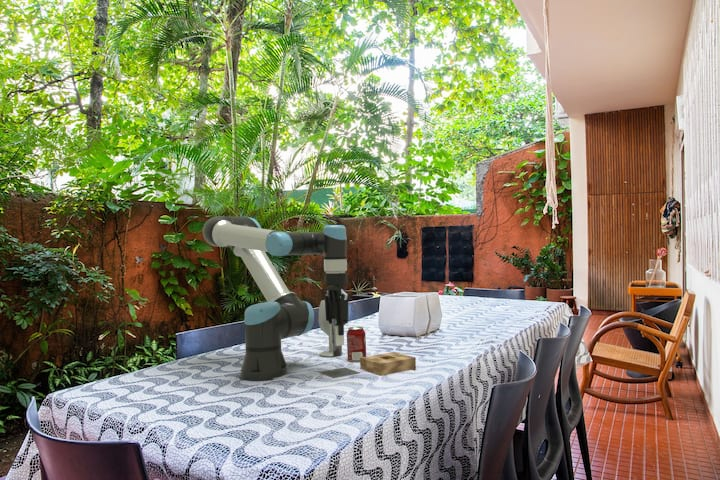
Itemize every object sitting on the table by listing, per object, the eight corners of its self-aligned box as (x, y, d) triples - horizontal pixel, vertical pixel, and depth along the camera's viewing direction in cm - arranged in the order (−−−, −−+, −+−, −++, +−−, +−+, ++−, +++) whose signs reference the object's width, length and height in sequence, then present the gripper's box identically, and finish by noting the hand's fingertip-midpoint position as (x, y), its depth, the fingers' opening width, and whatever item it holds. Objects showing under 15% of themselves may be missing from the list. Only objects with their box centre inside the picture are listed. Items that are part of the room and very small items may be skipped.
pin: (335, 356, 162) (334, 319, 162) (331, 355, 165) (330, 318, 165) (343, 355, 164) (342, 318, 164) (339, 353, 166) (338, 317, 166)
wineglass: (332, 358, 188) (330, 302, 188) (315, 356, 193) (313, 301, 193) (346, 353, 195) (344, 299, 195) (329, 351, 200) (327, 299, 200)
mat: (333, 379, 157) (333, 378, 157) (318, 373, 165) (318, 372, 165) (360, 374, 162) (360, 372, 162) (345, 368, 171) (345, 367, 171)
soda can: (364, 363, 177) (363, 329, 178) (345, 363, 179) (344, 329, 179) (368, 359, 184) (366, 326, 184) (350, 359, 185) (348, 326, 185)
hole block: (380, 376, 158) (380, 364, 158) (360, 369, 168) (360, 357, 168) (415, 369, 165) (415, 357, 165) (394, 363, 175) (394, 351, 175)
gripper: (358, 272, 160) (359, 346, 159) (333, 270, 173) (335, 339, 173) (337, 273, 156) (339, 349, 155) (314, 272, 169) (315, 341, 169)
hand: (337, 344), depth 164 cm, fingers closed on pin, 3 cm apart
